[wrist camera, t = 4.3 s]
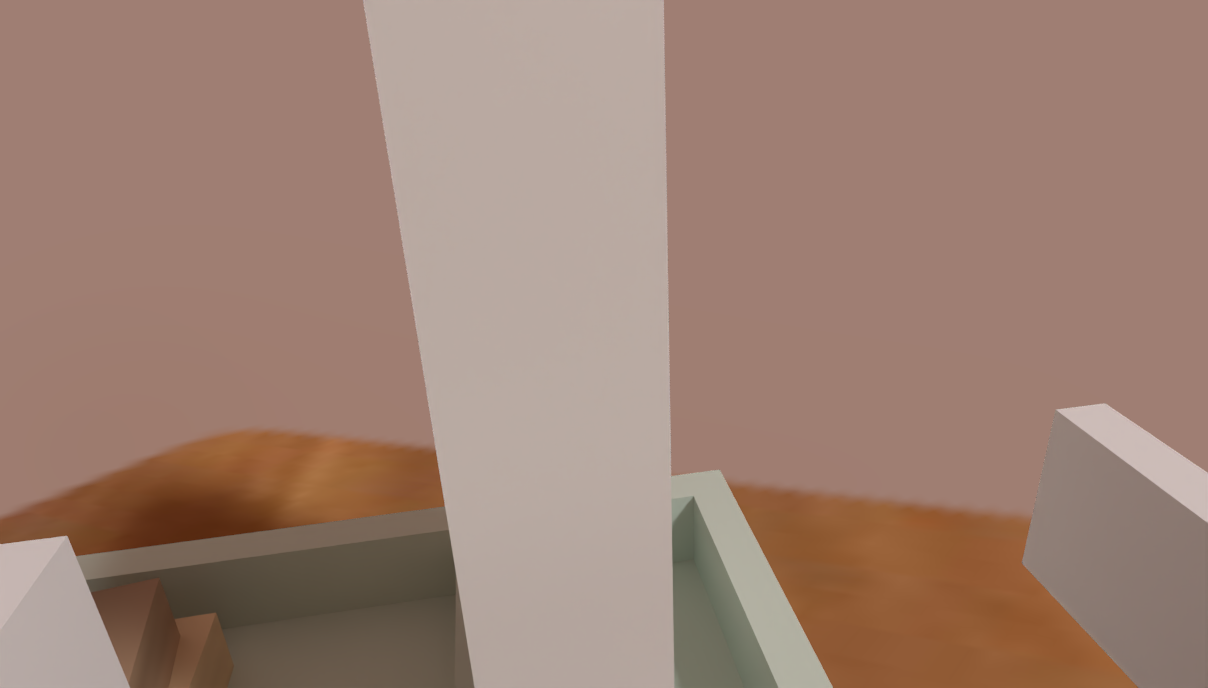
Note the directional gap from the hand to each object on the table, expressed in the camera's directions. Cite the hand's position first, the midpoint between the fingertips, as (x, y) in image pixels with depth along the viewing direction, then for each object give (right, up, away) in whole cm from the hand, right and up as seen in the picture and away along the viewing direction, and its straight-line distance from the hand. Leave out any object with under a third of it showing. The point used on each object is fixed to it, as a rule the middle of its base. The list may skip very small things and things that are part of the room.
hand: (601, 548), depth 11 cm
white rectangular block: (-1, -8, +8) cm, 11 cm away
